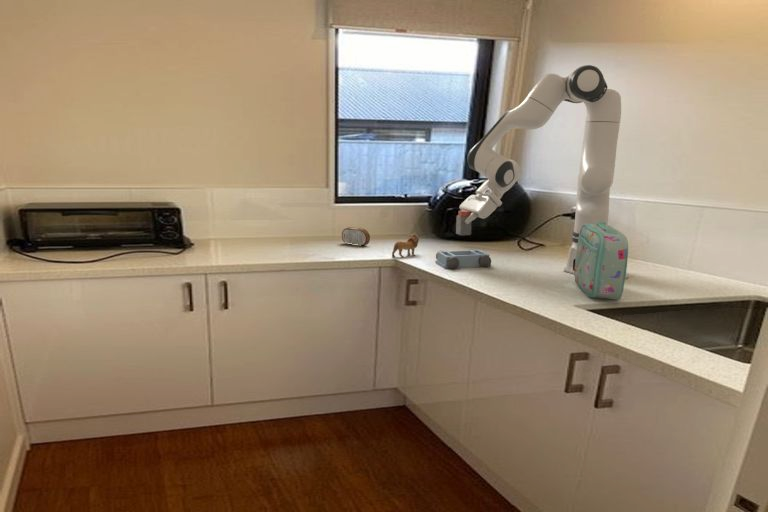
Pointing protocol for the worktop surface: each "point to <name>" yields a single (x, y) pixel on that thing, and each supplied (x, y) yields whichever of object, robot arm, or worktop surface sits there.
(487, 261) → the chassis
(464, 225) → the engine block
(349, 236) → the wooden speaker
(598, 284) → the lunch box
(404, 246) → the lion figurine
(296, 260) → the worktop surface
